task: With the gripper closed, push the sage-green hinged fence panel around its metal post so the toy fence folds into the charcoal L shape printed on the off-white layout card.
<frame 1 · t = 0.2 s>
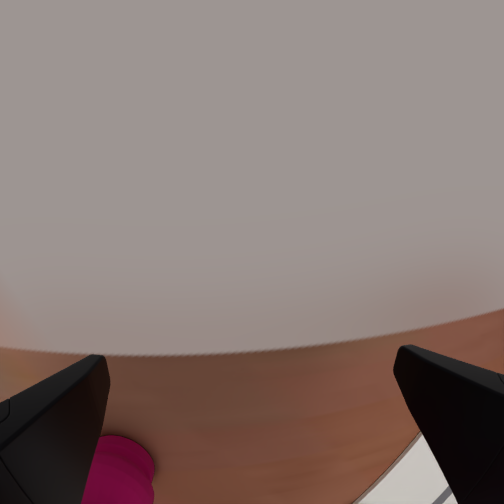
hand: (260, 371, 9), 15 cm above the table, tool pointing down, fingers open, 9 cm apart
layout card: (435, 496, 27), on the table
pepper mill: (122, 459, 23), on the table
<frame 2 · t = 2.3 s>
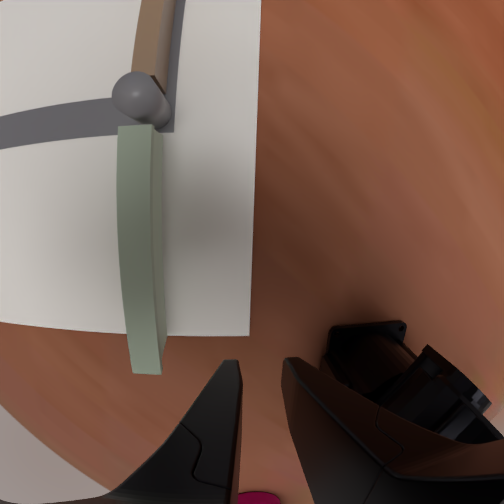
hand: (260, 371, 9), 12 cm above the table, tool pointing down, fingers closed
hinged panel: (144, 250, 16), point 3 cm above the table, hinge at 90.0°
layout card: (81, 136, 17), on the table
pepper mill: (251, 503, 27), on the table
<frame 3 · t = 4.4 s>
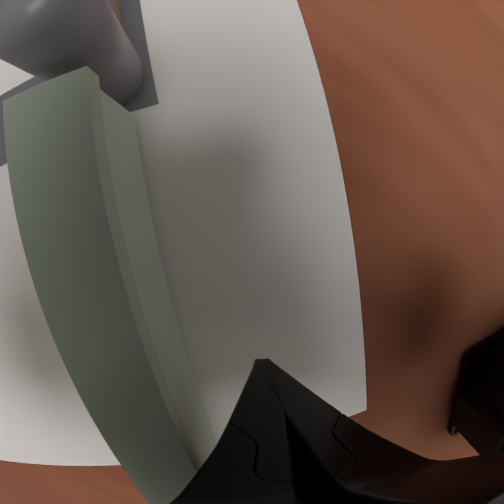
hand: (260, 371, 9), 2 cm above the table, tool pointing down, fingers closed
hinged panel: (149, 370, 7), point 3 cm above the table, hinge at 86.2°, touching gripper
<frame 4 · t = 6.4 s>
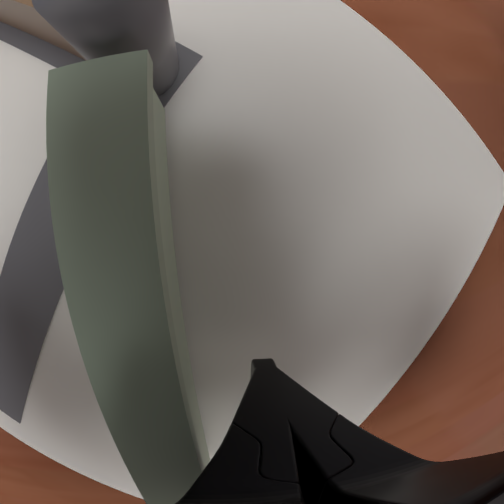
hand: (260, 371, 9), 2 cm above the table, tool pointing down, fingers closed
hinged panel: (157, 366, 7), point 3 cm above the table, hinge at 36.9°, touching gripper
layout card: (89, 229, 9), on the table
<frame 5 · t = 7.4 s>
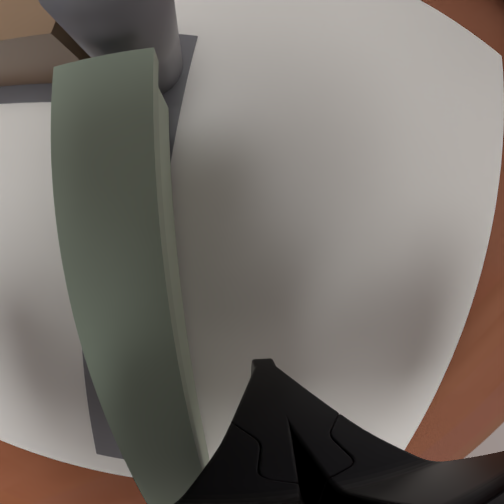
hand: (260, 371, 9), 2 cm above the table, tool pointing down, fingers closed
hinged panel: (158, 365, 7), point 3 cm above the table, hinge at 12.4°, touching gripper
layout card: (155, 237, 10), on the table
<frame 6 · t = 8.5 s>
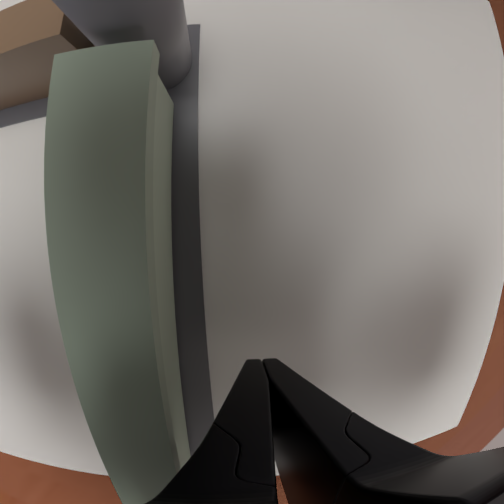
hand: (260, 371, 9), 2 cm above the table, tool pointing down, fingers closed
hinged panel: (143, 362, 7), point 3 cm above the table, hinge at -2.0°
layout card: (194, 228, 10), on the table
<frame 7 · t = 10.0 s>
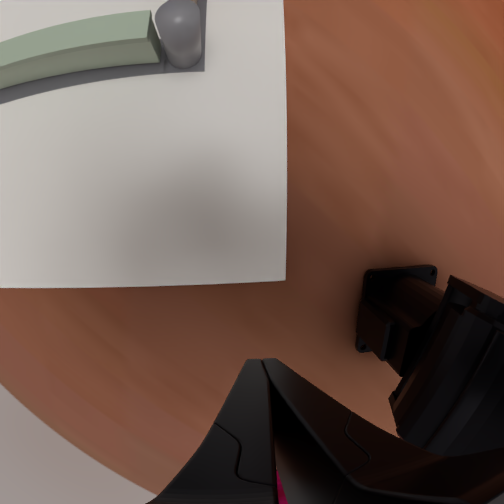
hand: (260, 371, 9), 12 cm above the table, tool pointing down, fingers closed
hinged panel: (50, 55, 13), point 3 cm above the table, hinge at -2.1°
layout card: (105, 80, 16), on the table
pepper mill: (282, 482, 27), on the table
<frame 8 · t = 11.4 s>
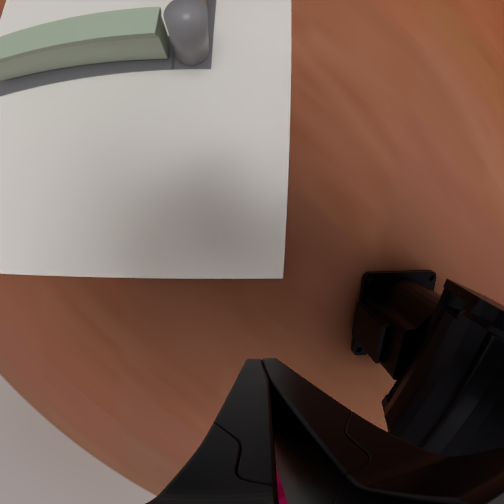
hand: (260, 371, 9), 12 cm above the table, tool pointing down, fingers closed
hinged panel: (61, 47, 13), point 3 cm above the table, hinge at -2.1°
layout card: (114, 74, 17), on the table
pepper mill: (272, 483, 27), on the table
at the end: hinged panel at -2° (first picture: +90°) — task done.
